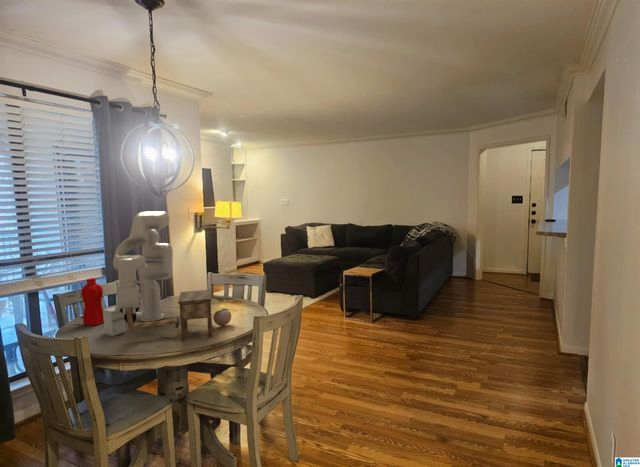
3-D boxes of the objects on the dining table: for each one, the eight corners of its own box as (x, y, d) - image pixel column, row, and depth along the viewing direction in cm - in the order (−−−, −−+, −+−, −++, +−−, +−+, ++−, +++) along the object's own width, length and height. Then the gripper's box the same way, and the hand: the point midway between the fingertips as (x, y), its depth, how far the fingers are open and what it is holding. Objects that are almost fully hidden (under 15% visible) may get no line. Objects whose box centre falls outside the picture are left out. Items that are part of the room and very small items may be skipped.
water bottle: (93, 319, 221) (89, 275, 218) (108, 321, 217) (104, 277, 214) (78, 325, 212) (74, 279, 209) (93, 327, 208) (89, 280, 206)
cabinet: (180, 341, 187) (178, 301, 185) (182, 328, 205) (180, 291, 203) (213, 337, 191) (211, 298, 189) (212, 325, 209) (211, 289, 207)
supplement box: (112, 336, 194) (110, 311, 193) (104, 333, 198) (102, 309, 197) (126, 331, 201) (124, 307, 199) (118, 329, 205) (116, 305, 203)
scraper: (126, 333, 185) (124, 310, 183) (130, 327, 193) (128, 305, 192) (178, 328, 191) (176, 305, 189) (179, 322, 199) (178, 301, 198)
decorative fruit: (222, 330, 200) (221, 311, 199) (211, 327, 204) (210, 309, 203) (235, 325, 208) (234, 306, 207) (224, 322, 212) (223, 304, 211)
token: (190, 335, 195) (190, 333, 195) (190, 332, 199) (190, 330, 199) (199, 334, 196) (199, 332, 196) (200, 331, 200) (199, 329, 200)
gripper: (147, 280, 192) (149, 317, 194) (111, 283, 188) (114, 320, 190) (145, 284, 185) (147, 322, 187) (107, 287, 181) (110, 325, 183)
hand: (130, 321), depth 189 cm, fingers closed on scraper
